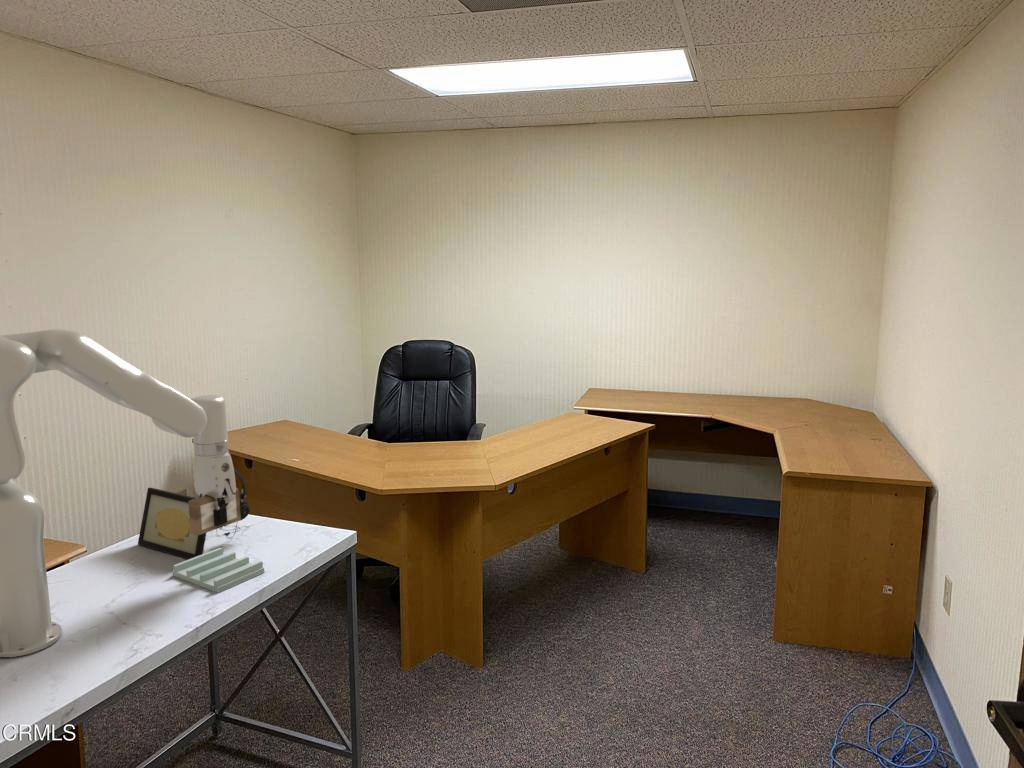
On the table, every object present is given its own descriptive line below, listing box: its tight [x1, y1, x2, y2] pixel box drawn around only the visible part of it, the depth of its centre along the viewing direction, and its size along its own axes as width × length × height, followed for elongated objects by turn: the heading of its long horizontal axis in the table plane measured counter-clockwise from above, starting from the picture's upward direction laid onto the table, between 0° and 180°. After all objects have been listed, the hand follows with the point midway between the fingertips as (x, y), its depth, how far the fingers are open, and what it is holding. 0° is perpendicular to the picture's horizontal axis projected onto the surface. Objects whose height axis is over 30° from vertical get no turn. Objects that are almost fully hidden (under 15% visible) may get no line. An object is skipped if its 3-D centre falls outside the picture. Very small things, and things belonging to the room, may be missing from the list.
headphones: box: [215, 467, 251, 538], centre depth 202 cm, size 15×11×20 cm
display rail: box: [172, 547, 265, 594], centre depth 178 cm, size 13×17×3 cm
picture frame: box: [137, 487, 207, 560], centre depth 193 cm, size 23×9×15 cm, turn 62°
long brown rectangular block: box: [188, 487, 242, 536], centre depth 175 cm, size 12×3×8 cm, turn 148°
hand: (216, 522), depth 176 cm, fingers closed on long brown rectangular block, 2 cm apart
